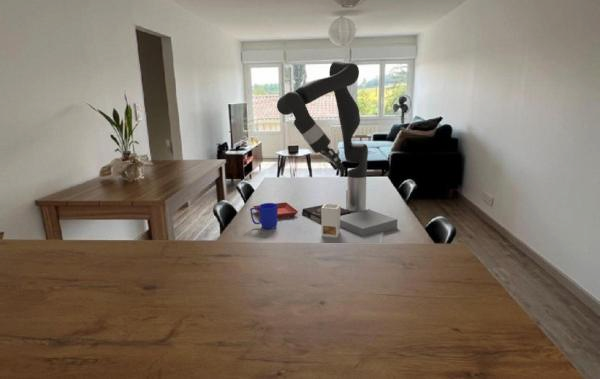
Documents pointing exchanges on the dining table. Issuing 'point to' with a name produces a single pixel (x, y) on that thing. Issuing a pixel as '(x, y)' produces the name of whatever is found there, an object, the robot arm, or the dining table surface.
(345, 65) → the robot arm
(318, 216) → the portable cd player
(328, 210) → the white hollow square box
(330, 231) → the block
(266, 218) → the mug
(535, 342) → the dining table surface
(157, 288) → the dining table surface
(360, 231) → the dock
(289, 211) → the plant saucer
